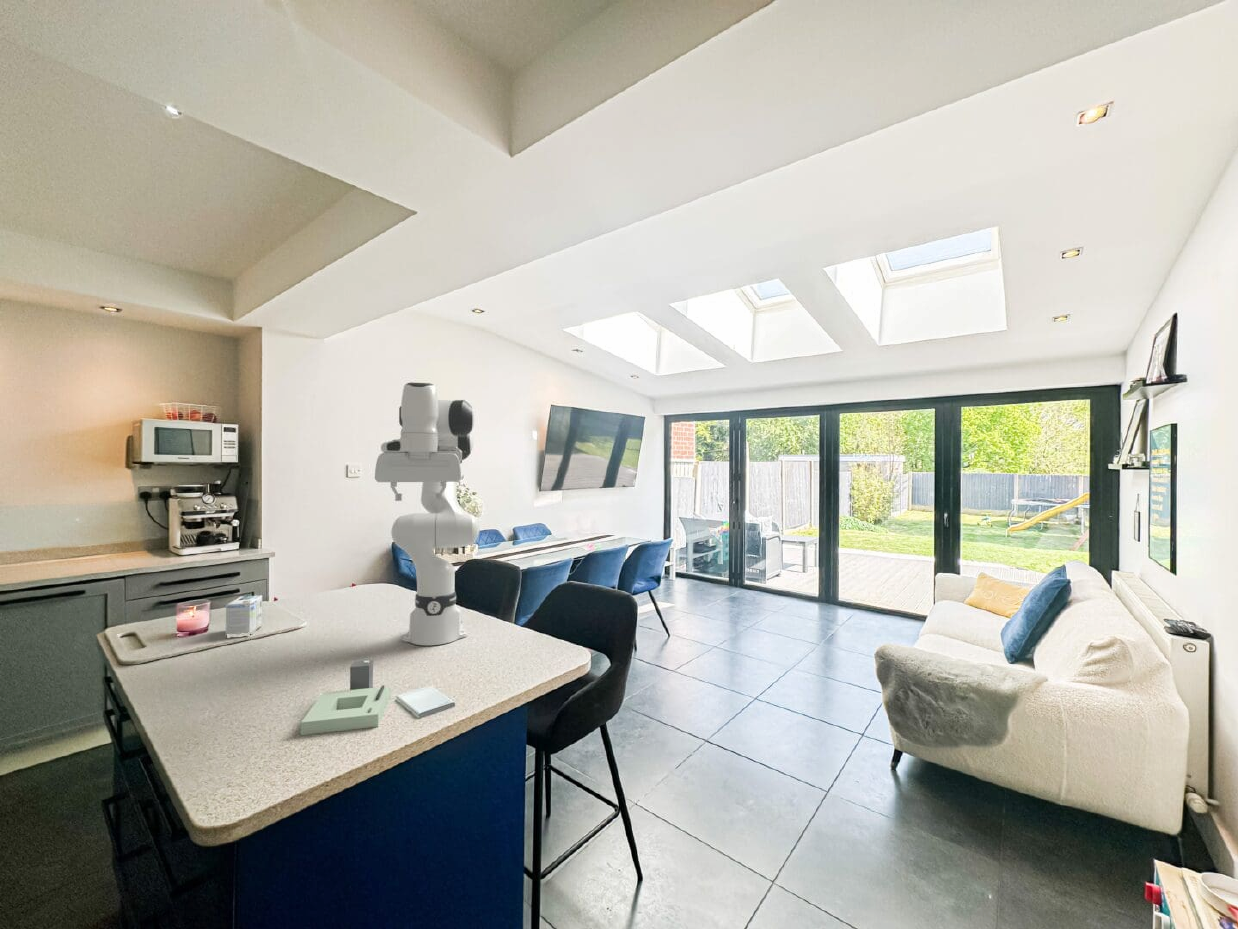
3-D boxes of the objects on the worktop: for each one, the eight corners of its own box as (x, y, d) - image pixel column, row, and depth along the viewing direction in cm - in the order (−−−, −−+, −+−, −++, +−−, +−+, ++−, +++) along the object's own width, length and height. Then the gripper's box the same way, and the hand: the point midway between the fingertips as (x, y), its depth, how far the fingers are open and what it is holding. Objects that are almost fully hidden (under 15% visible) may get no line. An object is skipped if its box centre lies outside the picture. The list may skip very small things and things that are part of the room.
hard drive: (455, 701, 113) (430, 684, 122) (418, 713, 107) (395, 694, 116) (455, 709, 113) (430, 691, 122) (418, 721, 107) (395, 702, 116)
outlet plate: (322, 703, 114) (323, 689, 114) (390, 697, 117) (390, 683, 117) (300, 735, 100) (301, 718, 100) (378, 726, 104) (378, 710, 104)
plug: (354, 690, 121) (354, 659, 121) (372, 688, 122) (373, 658, 122) (349, 697, 117) (350, 665, 117) (368, 696, 118) (369, 664, 118)
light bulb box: (238, 629, 168) (239, 596, 168) (262, 627, 170) (263, 594, 170) (224, 639, 158) (225, 604, 158) (250, 637, 160) (250, 602, 160)
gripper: (461, 447, 135) (460, 499, 135) (376, 445, 128) (375, 500, 128) (463, 446, 130) (462, 500, 129) (374, 444, 122) (373, 501, 122)
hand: (418, 500), depth 128 cm, fingers open, 8 cm apart
